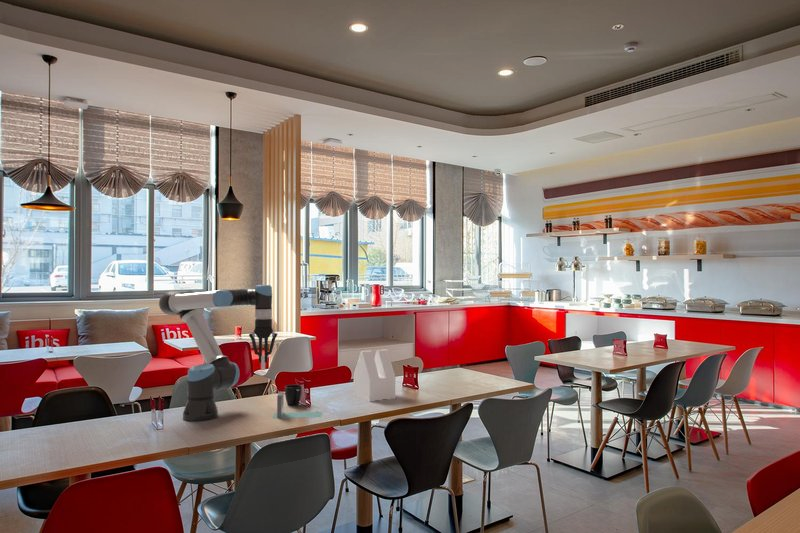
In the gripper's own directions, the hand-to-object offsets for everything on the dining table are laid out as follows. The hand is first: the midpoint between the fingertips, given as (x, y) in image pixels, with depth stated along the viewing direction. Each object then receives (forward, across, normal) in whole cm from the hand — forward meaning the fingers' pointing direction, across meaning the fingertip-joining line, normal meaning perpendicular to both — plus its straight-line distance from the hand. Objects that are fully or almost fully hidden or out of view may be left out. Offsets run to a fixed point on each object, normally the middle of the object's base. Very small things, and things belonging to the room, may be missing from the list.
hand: (263, 369), depth 253 cm
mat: (+22, +16, 0) cm, 27 cm away
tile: (+21, +8, 0) cm, 23 cm away
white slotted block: (+22, +54, +38) cm, 70 cm away
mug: (+22, +13, +20) cm, 32 cm away
